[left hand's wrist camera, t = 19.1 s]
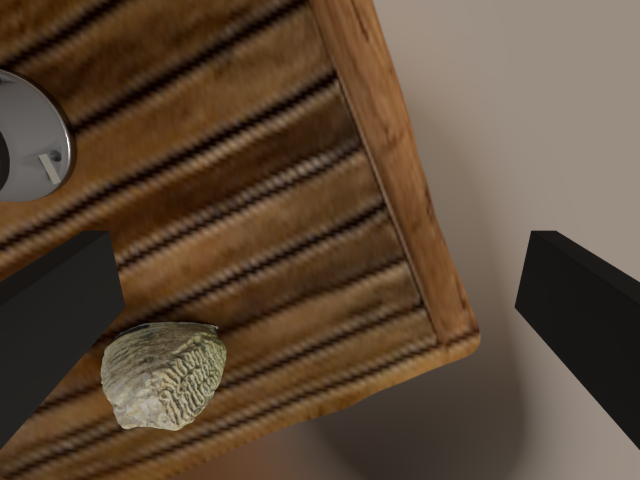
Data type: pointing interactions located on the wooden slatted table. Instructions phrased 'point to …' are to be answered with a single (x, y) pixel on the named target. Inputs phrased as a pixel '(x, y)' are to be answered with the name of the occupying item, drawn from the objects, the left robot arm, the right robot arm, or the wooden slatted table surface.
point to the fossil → (162, 373)
